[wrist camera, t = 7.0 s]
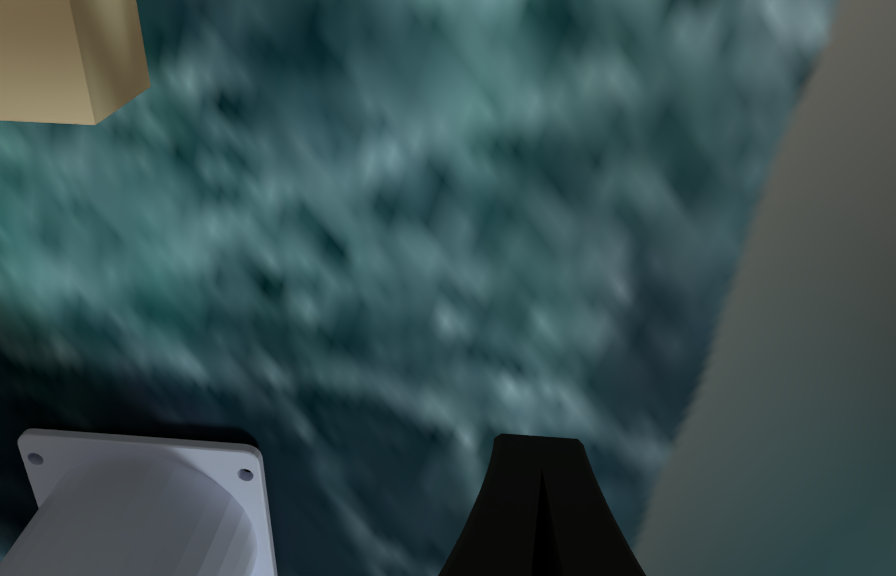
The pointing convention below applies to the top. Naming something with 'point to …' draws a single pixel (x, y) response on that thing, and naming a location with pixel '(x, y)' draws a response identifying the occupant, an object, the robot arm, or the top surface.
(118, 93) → the maple t block
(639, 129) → the top surface
